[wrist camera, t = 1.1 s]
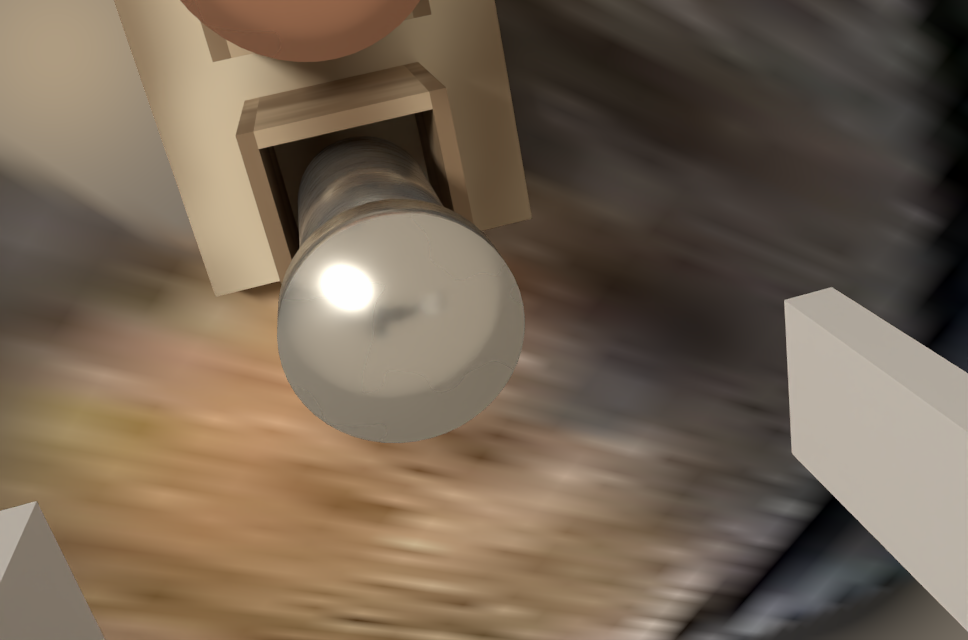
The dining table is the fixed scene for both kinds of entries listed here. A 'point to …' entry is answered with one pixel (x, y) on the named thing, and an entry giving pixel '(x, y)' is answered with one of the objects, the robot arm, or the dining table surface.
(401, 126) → the beige boxy slotted piece
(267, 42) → the terracotta plunger
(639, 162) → the dining table surface
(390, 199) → the cream plunger
